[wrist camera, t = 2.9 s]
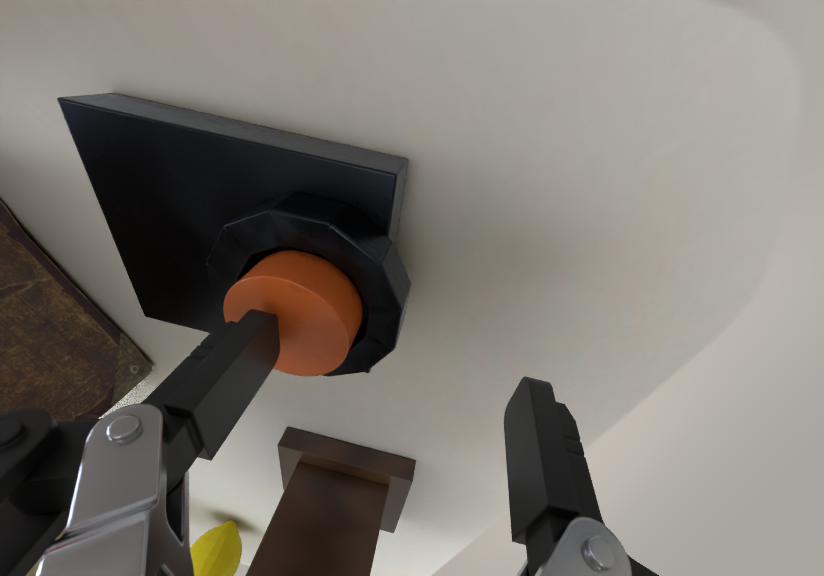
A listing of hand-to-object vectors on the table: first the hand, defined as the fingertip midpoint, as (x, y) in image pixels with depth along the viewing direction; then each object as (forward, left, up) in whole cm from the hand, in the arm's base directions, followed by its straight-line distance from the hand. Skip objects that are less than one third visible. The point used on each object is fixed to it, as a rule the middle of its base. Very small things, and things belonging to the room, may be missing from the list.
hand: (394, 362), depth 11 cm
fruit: (+15, +40, -6) cm, 43 cm away
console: (+7, 0, -6) cm, 9 cm away
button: (+4, 0, -2) cm, 4 cm away
